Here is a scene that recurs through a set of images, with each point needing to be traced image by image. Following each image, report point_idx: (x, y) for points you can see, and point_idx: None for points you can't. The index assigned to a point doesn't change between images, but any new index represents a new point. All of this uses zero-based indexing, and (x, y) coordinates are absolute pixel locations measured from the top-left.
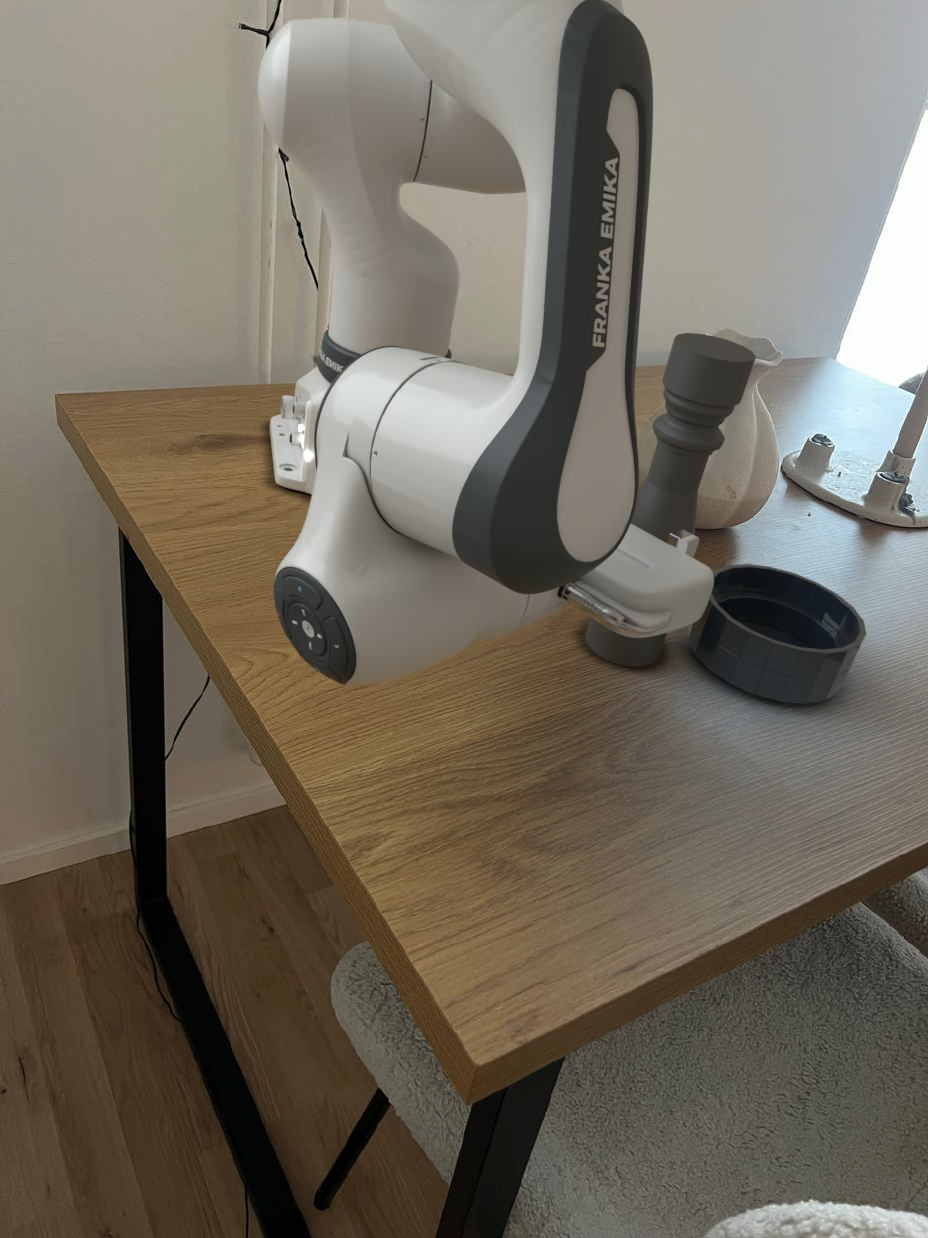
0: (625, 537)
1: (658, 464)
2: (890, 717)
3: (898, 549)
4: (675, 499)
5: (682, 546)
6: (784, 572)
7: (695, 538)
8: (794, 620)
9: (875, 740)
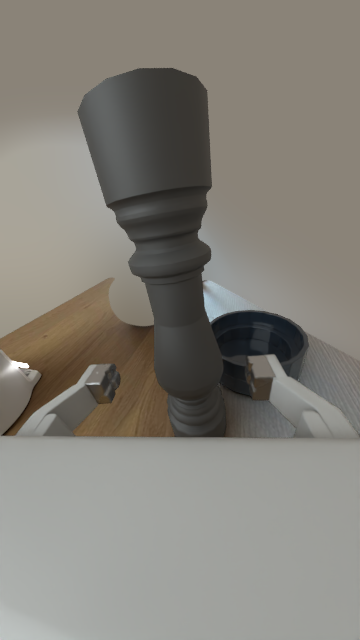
0: (330, 568)
1: (164, 306)
2: (313, 346)
3: (211, 285)
4: (198, 326)
5: (308, 395)
6: (224, 316)
7: (277, 359)
8: (239, 332)
9: (335, 365)
